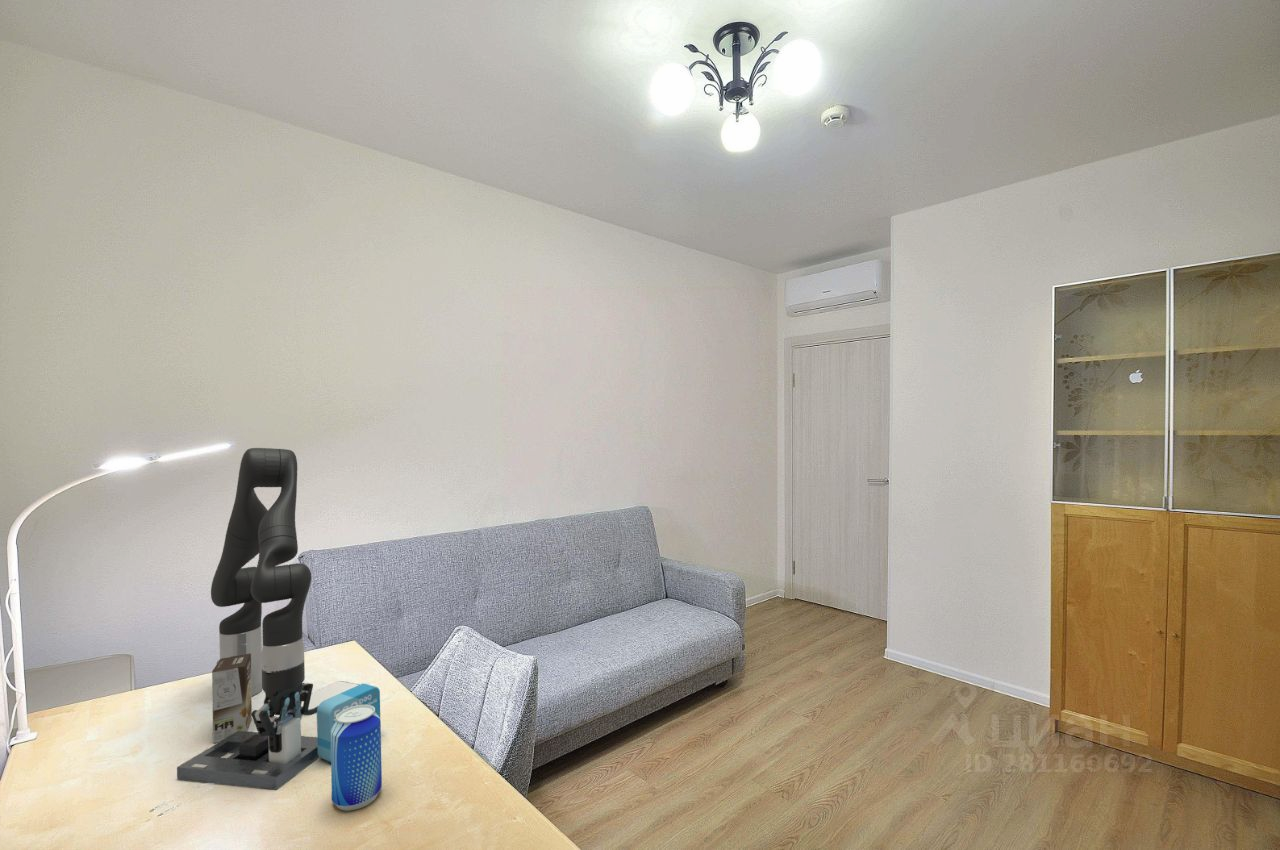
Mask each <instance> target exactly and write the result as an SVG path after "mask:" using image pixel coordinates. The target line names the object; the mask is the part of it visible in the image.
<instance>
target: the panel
mask: <svg viewBox="0 0 1280 850" xmlns="http://www.w3.org/2000/svg"><path fill="white" fill-rule="evenodd" d="M227 754H231V755H230V756H227V757H224V756H226V755H227ZM319 758H320V757H319V756H318V747H317V736H306V735H301V753H300V754H299V755H297V756H296V757H295V758H293V759H292V760H290V761H289V762H288V763H286V764H283V763H273V762H269V736H260V735H259V733H258V731H249V730H247V731H237V732H235V733H234V734H232V735H230V736H228V737H227V738H225V739H223V740H222V741H220V742H217V743H214V745H212V746H210V747H209V748H207V749H205V750H204V751H202V752H200V753H199V754H197V755H195V756H193V757H191V758H190V759H188V760H187V761H185V762H183V763H182V764H180V765H179V766H176V780H178V781H184V782H187V781H188V782H195V783H196V782H197V783H203V784H206V783H214V785H215V784H217V785H225V786H231V787H235V786H236V787H242V788H243V787H245V788H252V789H254V788H255V789H263V790H271V791H272V790H273V791H277V790H279V789H280V788H282V787H283V786H285V784H287V783H288V782H290V780H291V779H293V778H294V777H296V775H298V774H300V773H301V772H302V771H304V769H306V768H307V767H308V766H310V765H311V764H313V763H314V762H315V761H316V760H318V759H319Z"/></svg>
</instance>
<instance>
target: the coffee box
mask: <svg viewBox="0 0 1280 850" xmlns="http://www.w3.org/2000/svg"><path fill="white" fill-rule="evenodd" d="M218 660H219V662H218V663H217V662H216V664H215V666H214V668H213V669H212V670H211V671H212V672H211V673H212V674H211V676H212V677H211V678H212V679H211V680H212V684H211V685H212V689H211V690H212V691H211V692H212V743H213V744H217V743H218V742H220V741H222V740H223V739H225V738H227V737H228V736H230V735H232V734H234V733H235V732H237V731H249V730H248V729H249V727H250V724H251V722H252V721H253V718H252V712H253V705H252V703H253V702H252V697H253V696H252V693H251V654H244V655H237V656H232V657H228V658H222V659H220V658H219V659H218Z"/></svg>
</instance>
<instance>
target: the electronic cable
mask: <svg viewBox="0 0 1280 850" xmlns="http://www.w3.org/2000/svg"><path fill="white" fill-rule="evenodd" d="M209 784H211V785H212V786H211V787H210V788H208V789H207V790H205V791H203V792H202V793H200V794H198V795H196V796H195V797H192V798H191V799H189V800H187V801H184V802H183V803H180V804H177V805H175V806H172V807H170V808H167V809H166V810H164V811H162V812H160V813H159V814H157V815H156V816H157V817H162V816H164V815H166V814H168V813H170V812H172V811H174V810H176V809H177V808H179V807H180V806H182V805H184V804H186V803H188V802H189V801H192V800H194V799H196V798H197V797H199V796H201V795H204V794H205V793H207V792H208V791H210V790H212V789H213V788H214V786H215V784H214V783H203V784H201V785H198V786H196V787H195V788H193V789H190V790H189V791H186V792H184V793H182V794H180V795H179V796H177V797H175V798H173V799H170V800H168V801H167V802H163V803H160V804H158V805H157V806H155V807H153V808H152V809H150V810H149V811H148V812H149V813H152V812H153V811H157V810H159V809H161V808H163V807H165V806H167V805H168V804H169V803H171V802H173V801H174V800H177V799H179V798H180V797H182V796H184V795H186V794H188V793H190V792H192V791H194V790H196V789H197V788H201V787H202V786H205V785H209Z"/></svg>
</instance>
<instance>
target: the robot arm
mask: <svg viewBox="0 0 1280 850" xmlns="http://www.w3.org/2000/svg"><path fill="white" fill-rule="evenodd" d="M239 464H240V465H239V471H238V478H237V485H236V492H235V498H234V503H233V506H232V510H231V514H230V518H229V520H228V523H227V529H226V533H225V536H224V537H225V538H224V543H223V547H222V552H221V556H220V560H219V562H218V565H217V567H216V570H215V573H214V576H213V578H212V581H211V582H212V583H211V587H210V599H211V601H212V603H213V604H214V606H215V607H219V608H225V607H231V606H236V605H241V604H243V605H242V606H241V608H239V609H238V610H237V611H235V612H233V613H232V614H231V615H228V616H226V617H225V618H224V619H222V620H221V621H220V622H219V625H218V631H219V659H218V660H217V661H216V664H217V663H218V662H219V660H220V659H222V658H228V657H232V656H237V655H244V654H251V693H252V697H253V696H255V695H257V694H258V693H260V692H262V690H263V691H264V693H265V697H264V700H263V705H262V706H261V707H260V708H259V709H258V710H257V709H254V710H252V721H253V723H254V725H255V727H256V730H257V731H256V732H258V733H259V735H260V736H269V750H270V751H271V752H275V753H279V752H280V751H281V750H282V733H281V730H282V724H283V721H285V719H286V715H293V717H294V718H301V719H302V718H303V716H304V715H303V714H306V713H307V712H308V708H309V703H310V698H311V694H312V693H313V690H314V689H313V688H314V684H313V683H308V682H307V683H306V682H305V677H306V676H305V675H306V674H305V646H304V645H305V644H304V639H303V615H304V608H305V603H306V600H307V596H308V594H309V591H310V587H311V584H312V583H311V582H312V572H311V570H310V568H309V566H308V565H306V564H305V563H303V562H300V563H299V562H297V563H290V564H285V563H288V562H290V561H291V560H293V559H294V558H295V557H296V556H297V555H298V550H299V546H298V545H299V543H298V538H297V535H298V534H297V529H296V508H297V507H296V504H297V495H298V494H297V493H298V458H297V456H296V454H295V452H294V451H293V450H291V449H284V448H272V447H271V448H269V447H252V448H248V449H246V450H245V452H243V455H242V457H241V461H240V463H239ZM256 488H281V489H280V493H279V495H278V497H277V498H276V500H275V501H274V502H273V504H272V505H271V506H270V507H269V509H267V507H266V505H264V503H263V502H262V501H261V500H260V499H259V497H258V496H257V493H256V490H255V489H256ZM257 555H258V561H257V564H256V566H247V567H245V566H246V564H248V563H249V562H250V561H252V560H253V559H254V558H256V556H257ZM282 564H284V565H282ZM289 599H291V600H289ZM284 600H289V602H288V603H287V605H286V606H284V607H282V608H280V609H277V610H275V611H272V612H270V613H268V614H266V615H265V616H264V617H263V618H262V613H263V612H262V610H263V606H262V605H263V604H267V603H273V602H274V603H275V602H279V601H284ZM302 701H303V702H304V704H303V707H301V703H302ZM275 722H276V728H275V727H274V723H275Z"/></svg>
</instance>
